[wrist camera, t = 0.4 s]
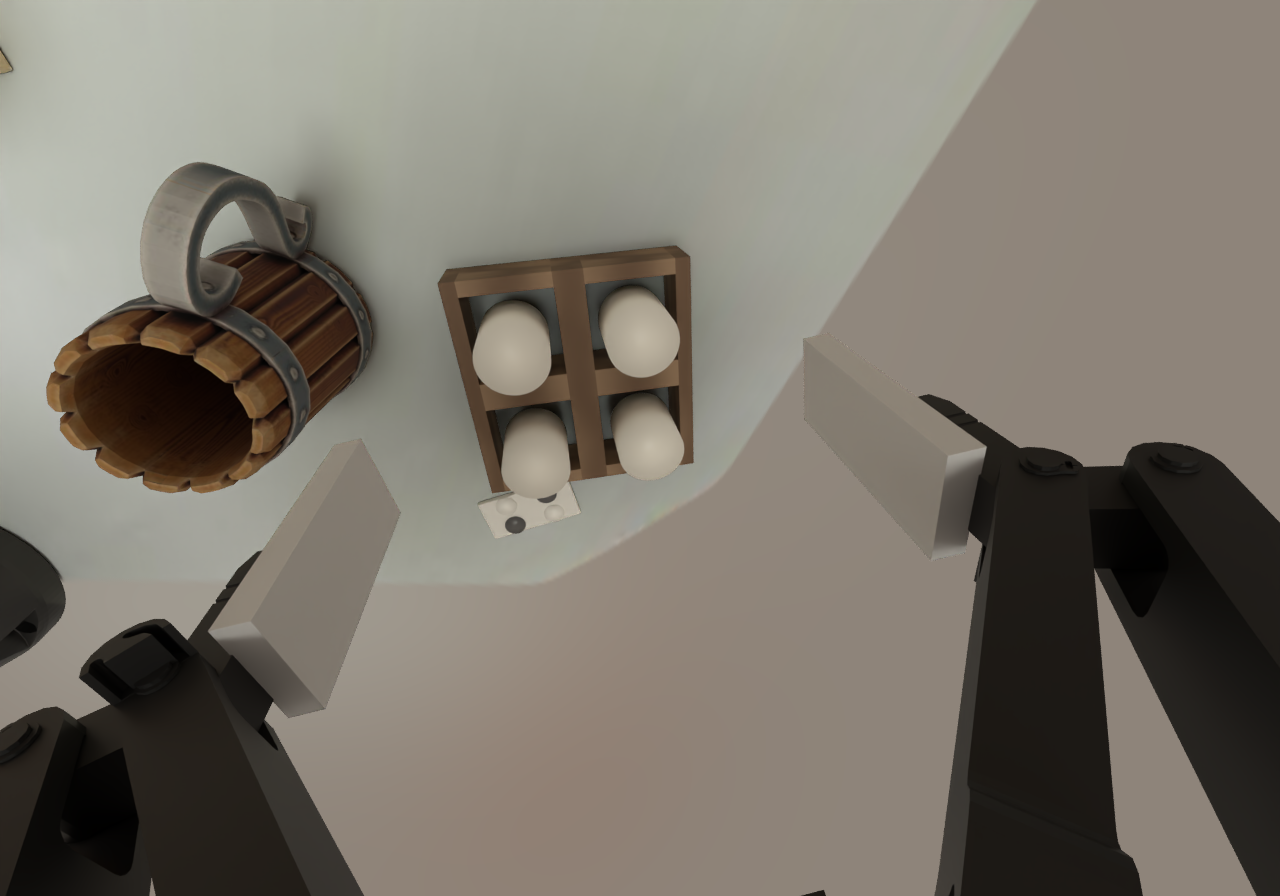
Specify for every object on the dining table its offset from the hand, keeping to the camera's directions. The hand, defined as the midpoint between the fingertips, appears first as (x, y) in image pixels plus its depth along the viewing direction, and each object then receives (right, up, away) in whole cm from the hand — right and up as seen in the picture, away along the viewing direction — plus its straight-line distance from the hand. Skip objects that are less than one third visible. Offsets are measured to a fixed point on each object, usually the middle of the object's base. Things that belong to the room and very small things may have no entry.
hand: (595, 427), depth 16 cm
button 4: (+1, +2, +25) cm, 25 cm away
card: (-8, -6, +31) cm, 33 cm away
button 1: (-7, +7, +20) cm, 23 cm away
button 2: (-7, 0, +24) cm, 25 cm away
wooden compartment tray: (-3, +6, +25) cm, 26 cm away
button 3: (+1, +8, +21) cm, 23 cm away
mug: (-21, +10, +19) cm, 31 cm away
